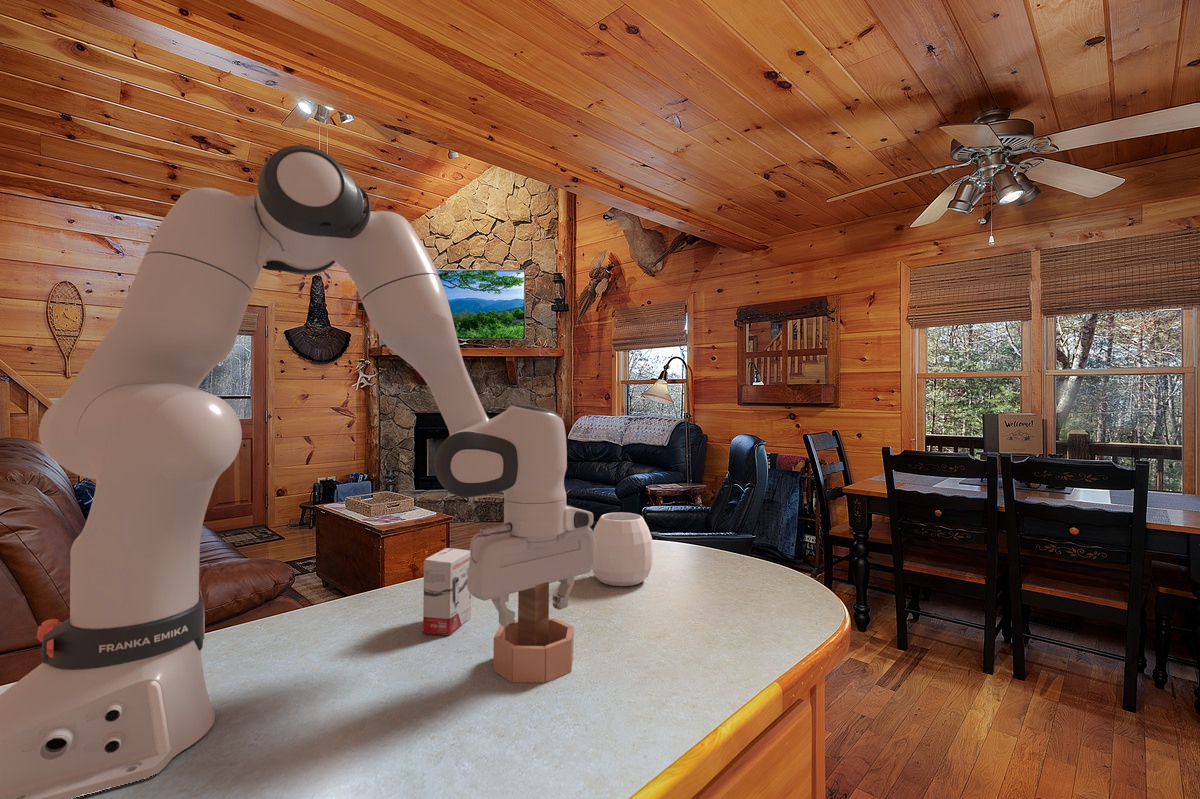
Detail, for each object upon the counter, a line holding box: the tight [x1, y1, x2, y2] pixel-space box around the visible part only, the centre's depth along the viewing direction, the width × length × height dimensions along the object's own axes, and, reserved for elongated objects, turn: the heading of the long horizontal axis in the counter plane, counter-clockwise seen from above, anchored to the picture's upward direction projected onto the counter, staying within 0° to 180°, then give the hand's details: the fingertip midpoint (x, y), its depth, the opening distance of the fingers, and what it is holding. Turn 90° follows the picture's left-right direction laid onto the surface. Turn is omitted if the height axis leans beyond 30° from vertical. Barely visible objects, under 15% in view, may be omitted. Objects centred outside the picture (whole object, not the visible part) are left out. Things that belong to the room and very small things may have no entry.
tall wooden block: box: [517, 582, 550, 646], centre depth 82 cm, size 2×4×12 cm, turn 44°
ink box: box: [422, 547, 472, 636], centre depth 96 cm, size 9×5×12 cm, turn 168°
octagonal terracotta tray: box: [493, 617, 575, 684], centre depth 82 cm, size 11×11×4 cm
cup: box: [591, 511, 654, 587], centre depth 120 cm, size 13×13×14 cm
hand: (534, 615), depth 82 cm, fingers open, 8 cm apart
